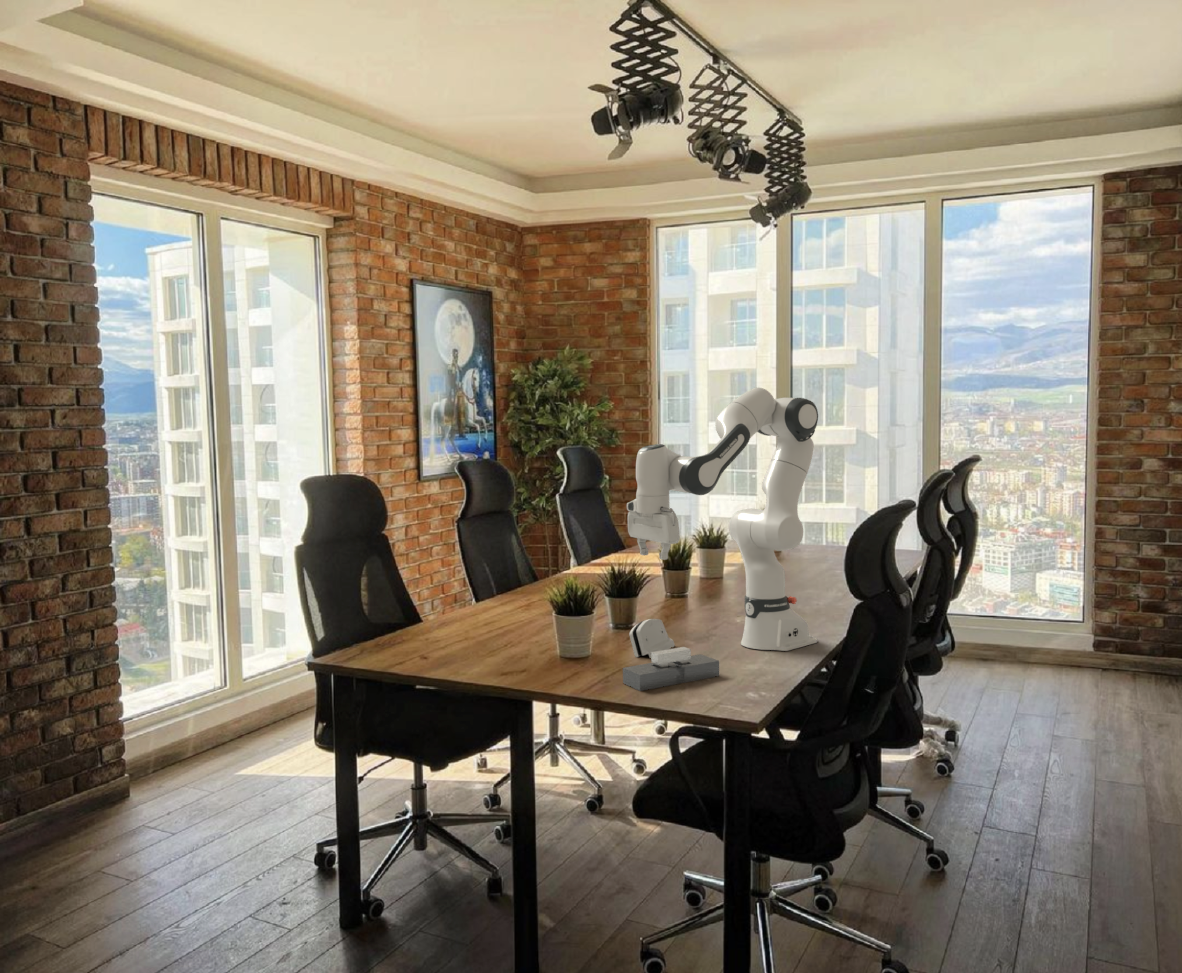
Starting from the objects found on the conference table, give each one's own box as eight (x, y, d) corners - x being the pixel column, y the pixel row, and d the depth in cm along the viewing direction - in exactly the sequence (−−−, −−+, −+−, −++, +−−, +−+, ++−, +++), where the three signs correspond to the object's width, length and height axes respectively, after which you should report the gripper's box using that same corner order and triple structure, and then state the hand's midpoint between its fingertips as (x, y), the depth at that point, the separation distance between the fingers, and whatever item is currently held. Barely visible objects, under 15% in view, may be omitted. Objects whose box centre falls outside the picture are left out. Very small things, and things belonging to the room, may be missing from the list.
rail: (700, 669, 257) (700, 654, 257) (719, 676, 250) (719, 660, 250) (623, 683, 246) (622, 667, 245) (640, 691, 239) (639, 675, 238)
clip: (684, 675, 252) (683, 646, 251) (691, 678, 249) (690, 649, 249) (651, 681, 247) (651, 652, 246) (658, 684, 244) (657, 654, 244)
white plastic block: (651, 659, 269) (639, 624, 270) (636, 663, 271) (625, 628, 272) (675, 645, 284) (664, 612, 284) (661, 649, 286) (650, 616, 287)
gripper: (685, 507, 253) (685, 560, 254) (642, 502, 270) (643, 551, 271) (664, 509, 250) (665, 563, 251) (623, 503, 267) (624, 553, 268)
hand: (653, 557), depth 261 cm, fingers open, 8 cm apart
